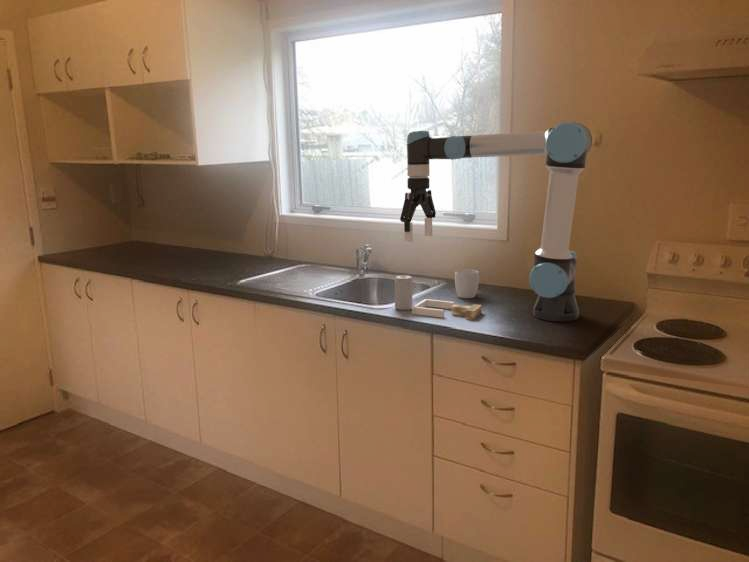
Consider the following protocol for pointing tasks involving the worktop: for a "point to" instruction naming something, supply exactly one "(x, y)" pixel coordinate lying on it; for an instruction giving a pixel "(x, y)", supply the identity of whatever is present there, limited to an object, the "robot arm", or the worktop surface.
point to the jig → (421, 309)
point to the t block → (467, 311)
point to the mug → (466, 283)
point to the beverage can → (403, 292)
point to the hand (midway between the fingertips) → (418, 238)
